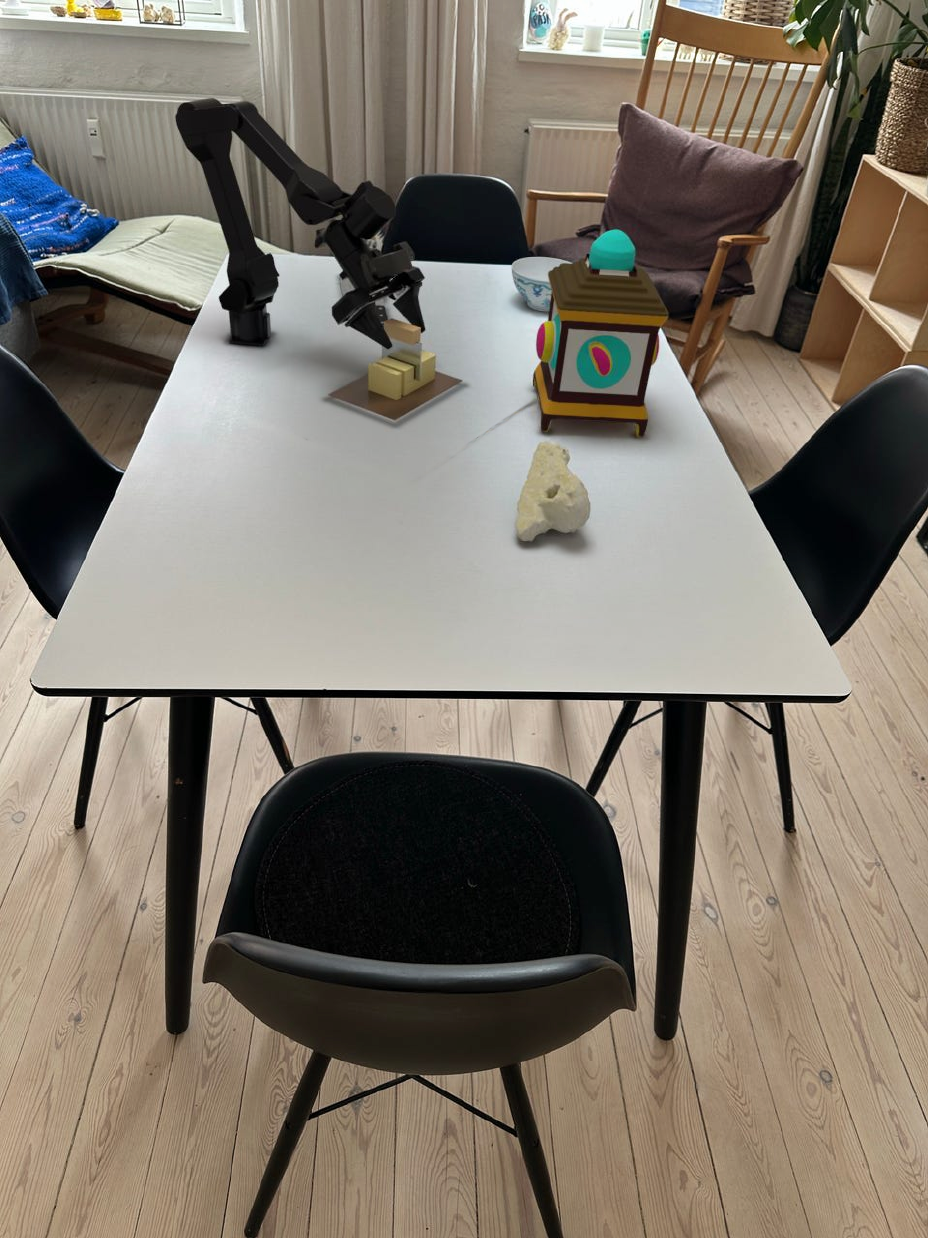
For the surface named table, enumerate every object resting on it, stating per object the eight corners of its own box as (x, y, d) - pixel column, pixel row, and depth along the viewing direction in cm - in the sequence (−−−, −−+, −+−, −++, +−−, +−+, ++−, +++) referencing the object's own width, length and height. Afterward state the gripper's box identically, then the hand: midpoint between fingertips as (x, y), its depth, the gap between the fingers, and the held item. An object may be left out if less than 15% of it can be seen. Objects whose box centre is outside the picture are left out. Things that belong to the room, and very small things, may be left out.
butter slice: (368, 389, 156) (368, 364, 153) (372, 387, 157) (372, 362, 154) (396, 400, 154) (397, 375, 151) (401, 398, 154) (401, 372, 152)
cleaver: (340, 327, 178) (392, 328, 179) (340, 324, 178) (392, 325, 179) (340, 276, 201) (386, 277, 202) (340, 273, 200) (386, 274, 202)
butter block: (375, 385, 157) (376, 360, 155) (407, 369, 163) (407, 344, 161) (404, 396, 155) (405, 371, 152) (434, 379, 161) (436, 354, 158)
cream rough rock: (568, 574, 124) (634, 485, 124) (536, 543, 119) (604, 451, 120) (508, 546, 136) (568, 465, 137) (477, 517, 132) (539, 434, 133)
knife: (378, 369, 158) (378, 319, 152) (386, 365, 159) (386, 316, 154) (416, 383, 155) (418, 332, 149) (423, 379, 156) (426, 329, 151)
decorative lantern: (634, 390, 166) (669, 214, 147) (654, 443, 150) (696, 255, 131) (523, 384, 164) (544, 206, 146) (532, 437, 149) (557, 246, 130)
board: (327, 399, 154) (327, 394, 154) (398, 363, 168) (399, 357, 167) (394, 425, 149) (394, 420, 148) (462, 385, 162) (463, 380, 162)
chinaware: (581, 321, 190) (587, 284, 185) (508, 316, 189) (512, 278, 185) (575, 295, 202) (580, 259, 197) (507, 290, 201) (510, 254, 196)
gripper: (344, 239, 138) (402, 331, 140) (417, 215, 150) (469, 299, 153) (306, 280, 146) (361, 365, 148) (378, 253, 158) (428, 332, 161)
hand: (407, 339), depth 153 cm, fingers open, 9 cm apart
